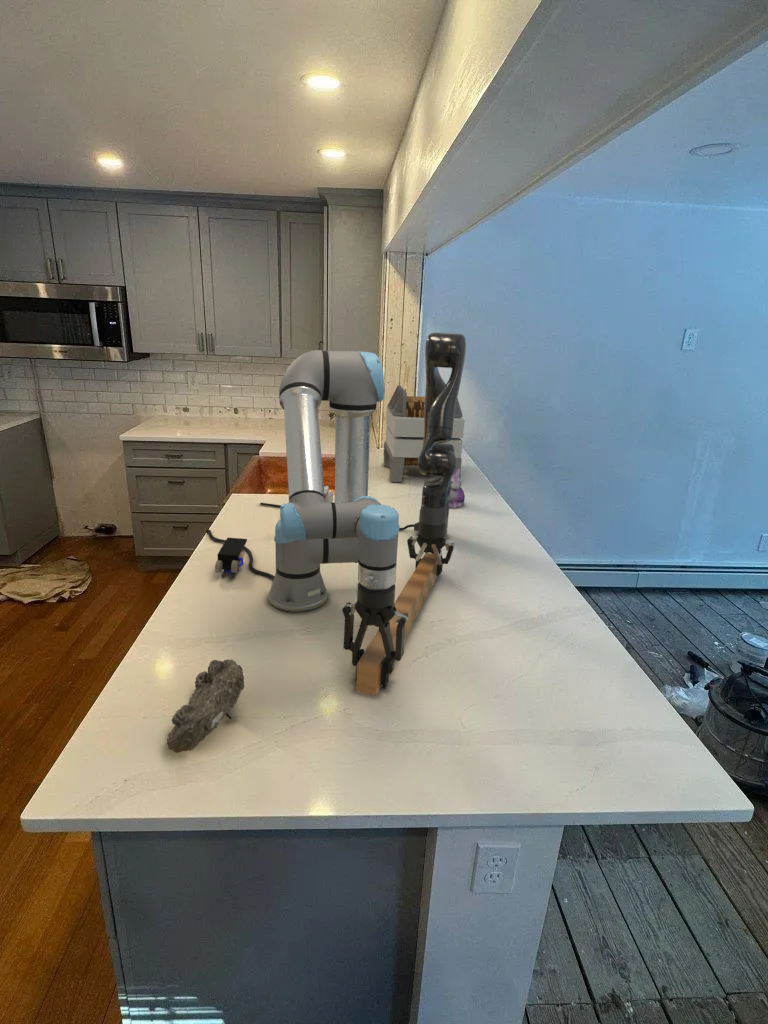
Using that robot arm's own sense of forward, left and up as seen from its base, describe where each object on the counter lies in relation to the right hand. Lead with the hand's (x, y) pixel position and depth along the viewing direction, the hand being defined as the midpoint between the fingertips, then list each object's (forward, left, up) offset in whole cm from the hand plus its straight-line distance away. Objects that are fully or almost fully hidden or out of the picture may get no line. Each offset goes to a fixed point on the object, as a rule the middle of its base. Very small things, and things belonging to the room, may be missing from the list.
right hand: (428, 573), depth 166 cm
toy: (-59, +16, -2) cm, 61 cm away
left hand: (+16, -49, -2) cm, 52 cm away
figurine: (-27, +65, -2) cm, 71 cm away
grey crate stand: (-63, +96, -2) cm, 115 cm away
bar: (+8, -25, -2) cm, 26 cm away
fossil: (-1, -77, -2) cm, 77 cm away
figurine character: (-48, -32, -2) cm, 58 cm away
